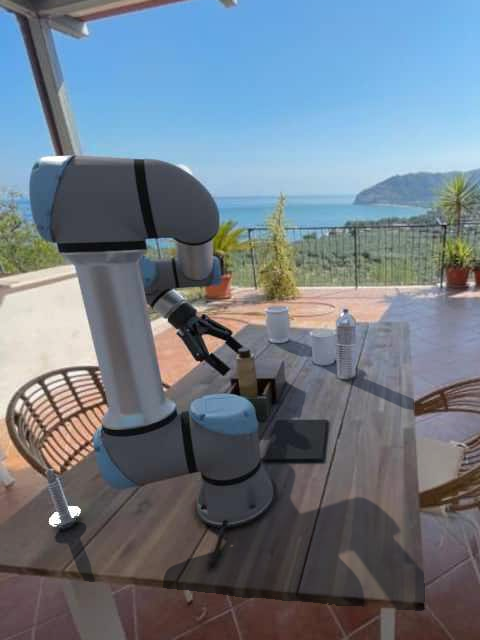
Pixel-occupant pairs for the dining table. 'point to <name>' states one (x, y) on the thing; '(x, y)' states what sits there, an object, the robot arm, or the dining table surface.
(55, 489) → the screw
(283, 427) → the placemat
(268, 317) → the jar
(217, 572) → the dining table surface
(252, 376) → the pepper mill
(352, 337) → the water bottle
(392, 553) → the dining table surface
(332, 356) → the candle holder
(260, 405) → the drawer
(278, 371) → the cabinet
